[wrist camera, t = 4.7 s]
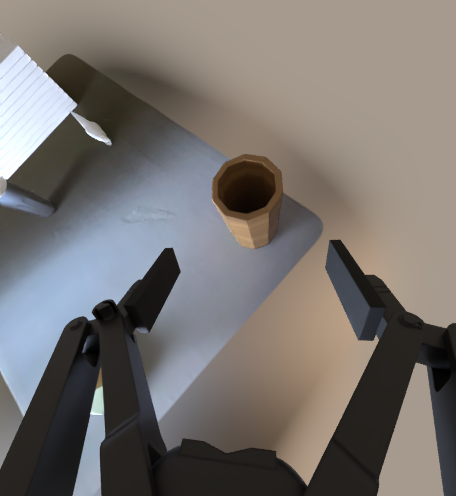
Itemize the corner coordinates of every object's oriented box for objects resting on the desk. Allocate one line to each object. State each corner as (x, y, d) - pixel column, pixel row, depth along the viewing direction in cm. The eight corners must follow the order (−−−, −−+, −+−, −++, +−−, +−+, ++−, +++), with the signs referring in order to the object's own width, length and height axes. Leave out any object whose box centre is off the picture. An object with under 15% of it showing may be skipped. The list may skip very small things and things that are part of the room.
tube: (285, 219, 29) (297, 171, 17) (259, 257, 28) (255, 233, 17) (248, 199, 31) (237, 143, 19) (224, 234, 30) (197, 199, 19)
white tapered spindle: (117, 140, 39) (110, 133, 37) (108, 150, 38) (100, 143, 37) (77, 109, 43) (68, 101, 41) (68, 118, 43) (59, 110, 41)
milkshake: (49, 227, 37) (-27, 205, 27) (34, 213, 38) (-43, 187, 29) (65, 208, 37) (-5, 179, 28) (49, 195, 39) (-22, 163, 29)
